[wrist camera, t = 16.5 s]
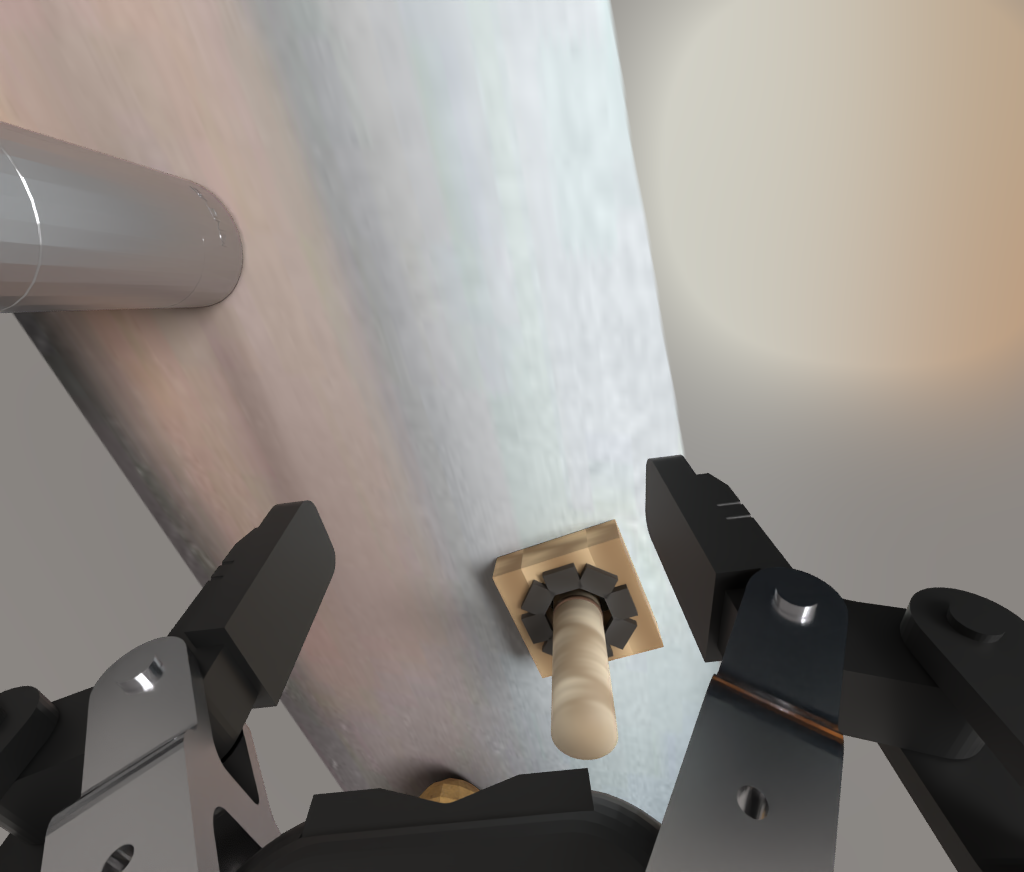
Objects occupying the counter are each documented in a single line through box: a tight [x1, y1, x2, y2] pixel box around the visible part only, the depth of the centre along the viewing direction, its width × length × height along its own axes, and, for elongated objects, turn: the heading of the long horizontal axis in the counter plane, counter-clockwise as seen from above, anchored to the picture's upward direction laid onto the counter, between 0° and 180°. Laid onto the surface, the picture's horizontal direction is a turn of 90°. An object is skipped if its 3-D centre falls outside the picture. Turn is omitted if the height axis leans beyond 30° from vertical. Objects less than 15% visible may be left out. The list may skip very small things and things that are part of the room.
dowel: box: [551, 588, 618, 760], centre depth 34 cm, size 4×4×14 cm
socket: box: [492, 519, 664, 678], centre depth 39 cm, size 11×11×4 cm
